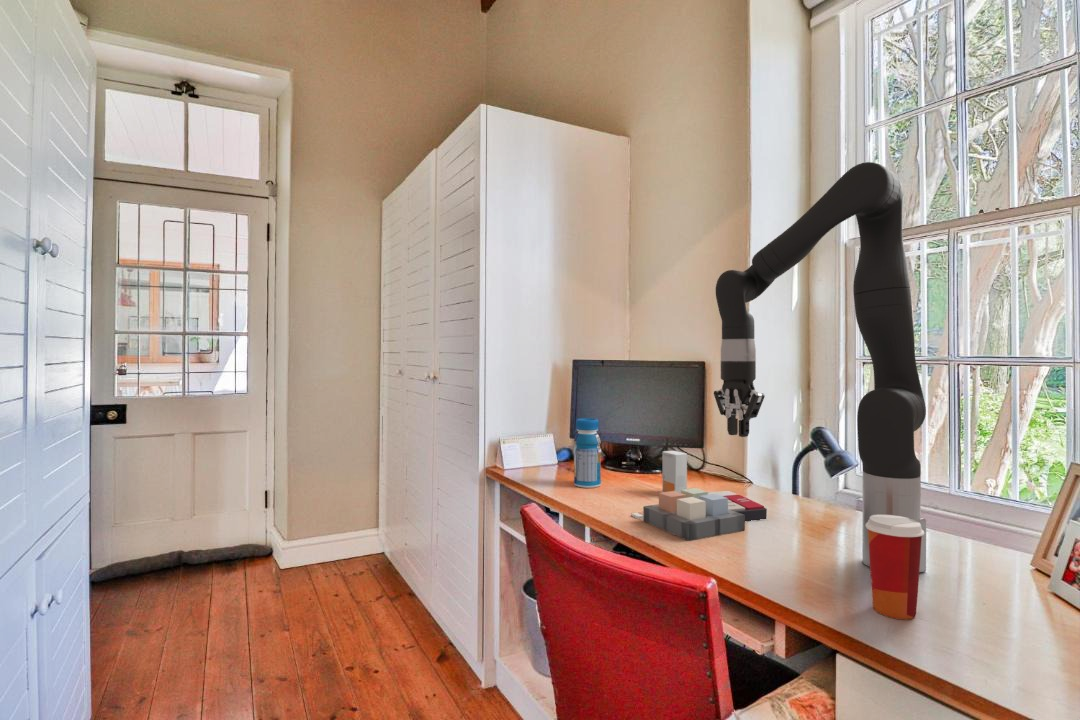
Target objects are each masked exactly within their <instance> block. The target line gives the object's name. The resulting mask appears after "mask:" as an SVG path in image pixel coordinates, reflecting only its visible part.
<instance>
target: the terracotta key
mask: <svg viewBox="0 0 1080 720" xmlns="http://www.w3.org/2000/svg"><path fill="white" fill-rule="evenodd" d="M681 498H686V495H685V494H682V493H679V492H676V491H669V492H658V504H659V509H662V510H665V511H667V512H670V513H673V512H677V499H681Z"/></svg>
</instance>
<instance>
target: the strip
mask: <svg viewBox="0 0 1080 720" xmlns="http://www.w3.org/2000/svg"><path fill="white" fill-rule="evenodd" d="M630 515H631V517H633V518H634V519H637V520H640V519H643V511H637V512H633V513H632V512H631V514H630Z"/></svg>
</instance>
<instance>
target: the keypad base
mask: <svg viewBox="0 0 1080 720" xmlns="http://www.w3.org/2000/svg"><path fill="white" fill-rule="evenodd" d="M642 512H643V518H642V519H643V522H644V523H646V524H649V525H651V526H654V527H656V528H658V529H660V530H662V531H665V532H667V533H669V534H671V535H675V536H677V537H678V538H681V539H683V540H686V541H688V542H690V541H691V542H692V541H696V540H701V539H706V537H707V538H710V537H711V536H712V537H718V536H721V535H722V534H723V535H728V534H732V533H733V532H734V533H738V532H744V530H746V524H745V523H746V522H745V515H744V514H741V513H738V512H735V511H732V510H729V509H728V514H725V515H719V516H710V515H707V514H706V518H701V519H695V520H688V519H685V518H683V517H680V516H677V512H673V513H670V512H667V511H665V510H662V509H659V503H657V504H651V505H644V506H643V511H642ZM727 533H728V534H727ZM717 535H718V536H717ZM712 537H711V538H712Z"/></svg>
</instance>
